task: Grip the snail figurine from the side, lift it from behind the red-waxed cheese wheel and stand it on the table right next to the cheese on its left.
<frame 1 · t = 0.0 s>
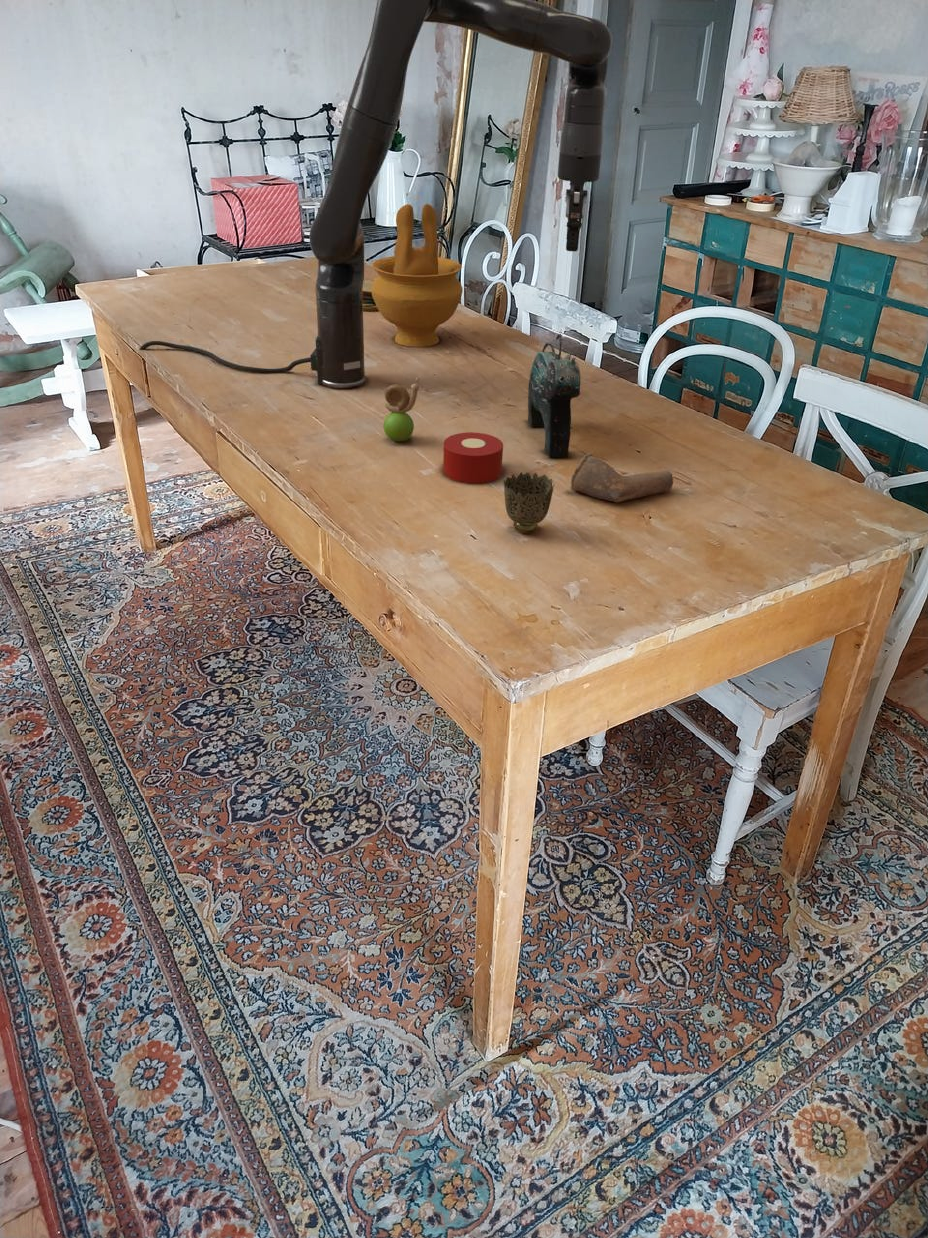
hand: (571, 245, 176), 29 cm above the table, tool pointing down, fingers open, 8 cm apart
pipe: (619, 492, 155), on the table
toy sandwich meal: (367, 305, 246), on the table
ceramic cat: (544, 441, 172), on the table
decorative bowl: (416, 340, 221), on the table
cheese: (472, 470, 160), on the table
cup: (525, 530, 142), on the table
snail figurine: (401, 441, 170), on the table
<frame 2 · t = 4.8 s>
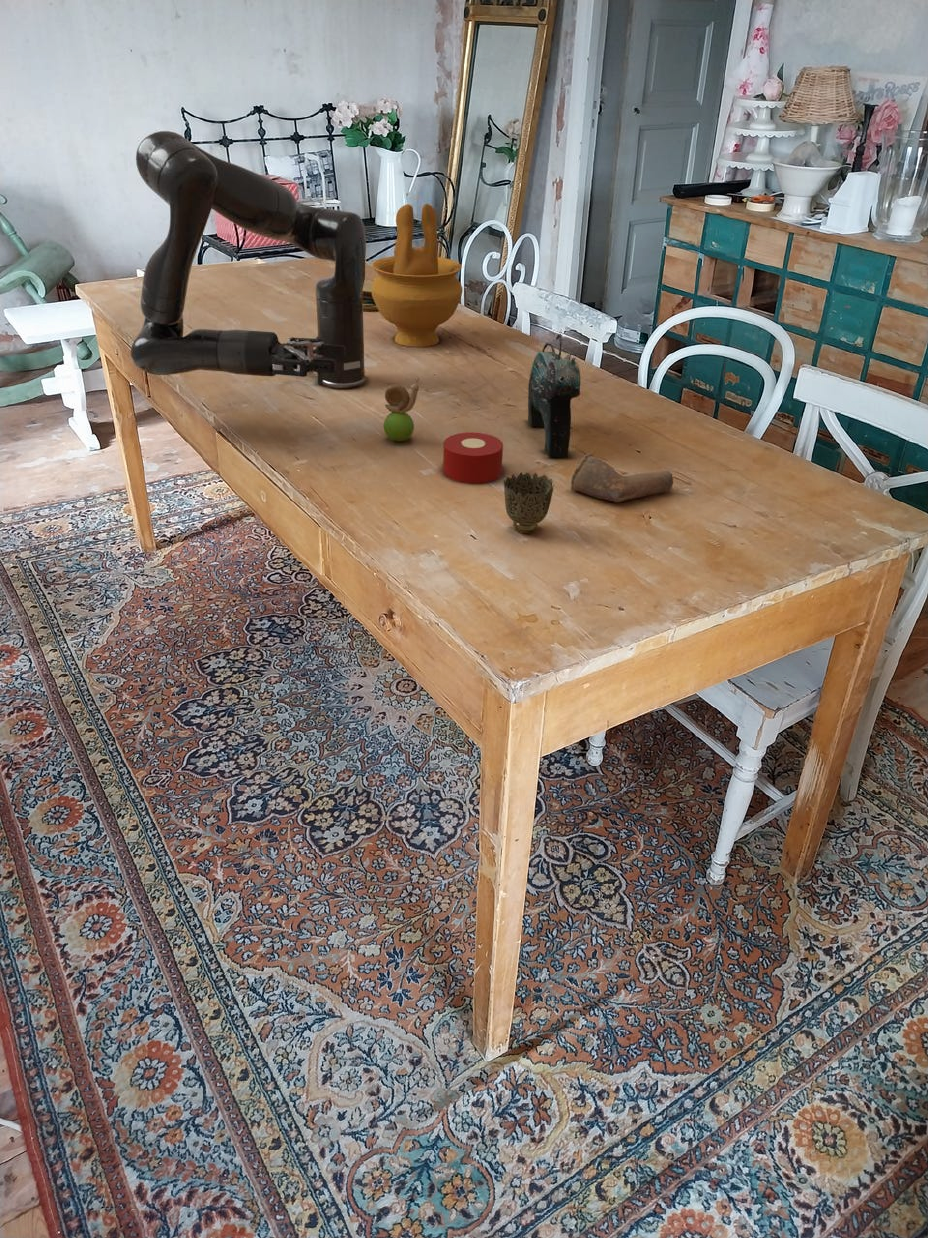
hand: (340, 358, 163), 14 cm above the table, tool horizontal, fingers open, 8 cm apart
nothing on the table moved.
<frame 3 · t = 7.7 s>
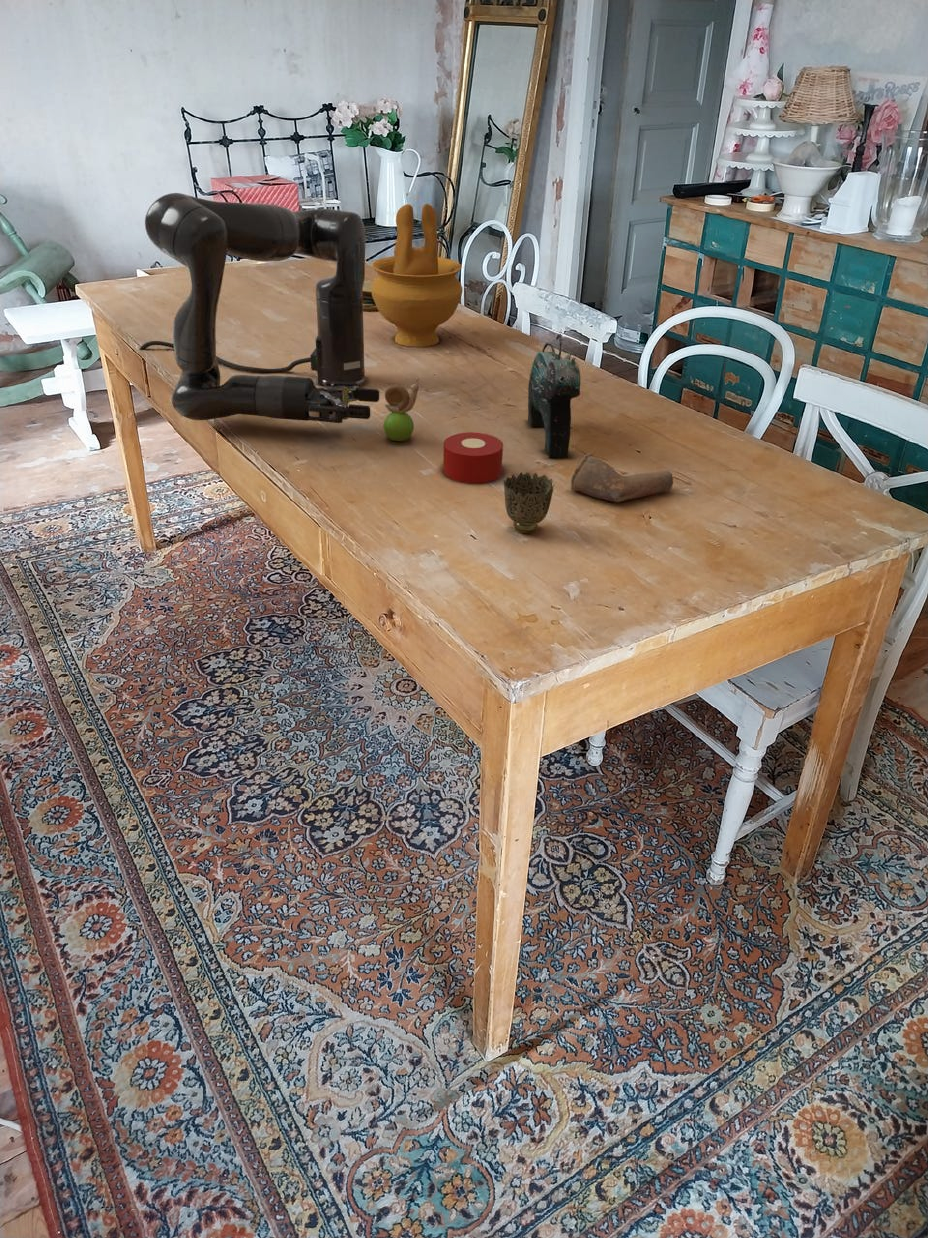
hand: (374, 403, 166), 7 cm above the table, tool horizontal, fingers open, 8 cm apart
nothing on the table moved.
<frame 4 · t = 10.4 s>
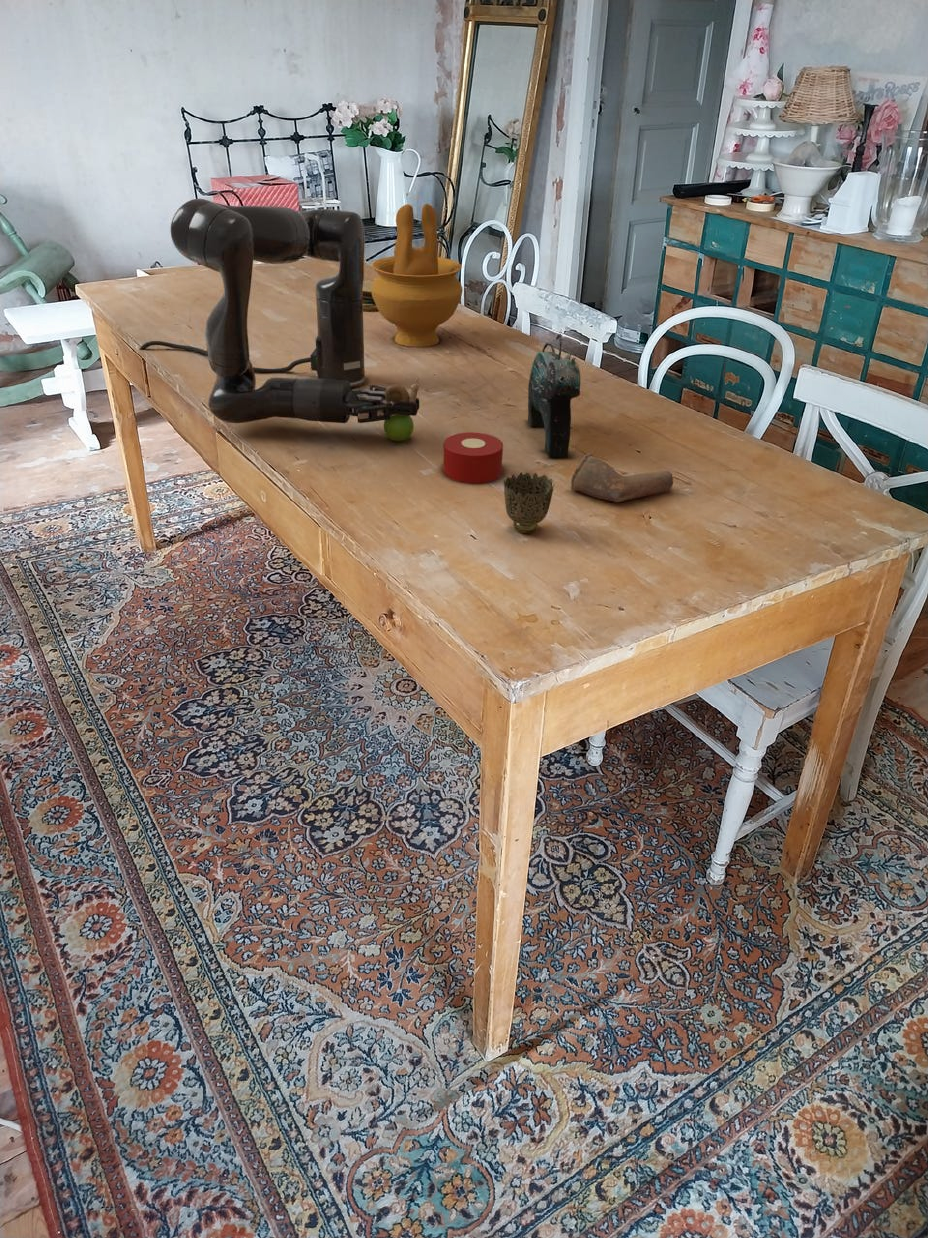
hand: (417, 406, 166), 7 cm above the table, tool horizontal, fingers closed on snail figurine
snail figurine: (401, 441, 170), on the table, touching gripper
everything else where it was.
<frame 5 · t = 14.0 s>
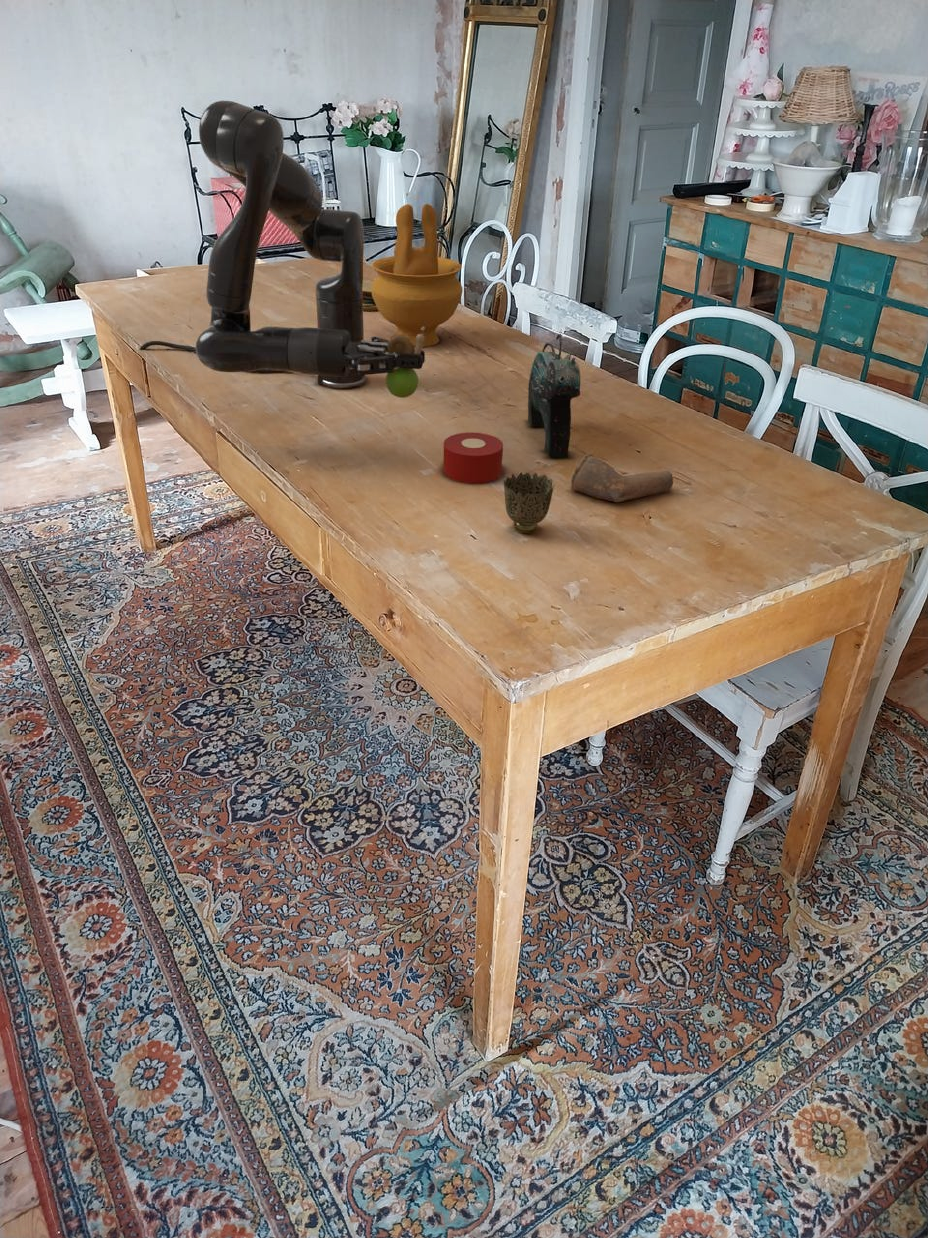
hand: (422, 359, 154), 18 cm above the table, tool horizontal, fingers closed on snail figurine
snail figurine: (404, 398, 157), point 11 cm above the table, touching gripper
everything else where it was.
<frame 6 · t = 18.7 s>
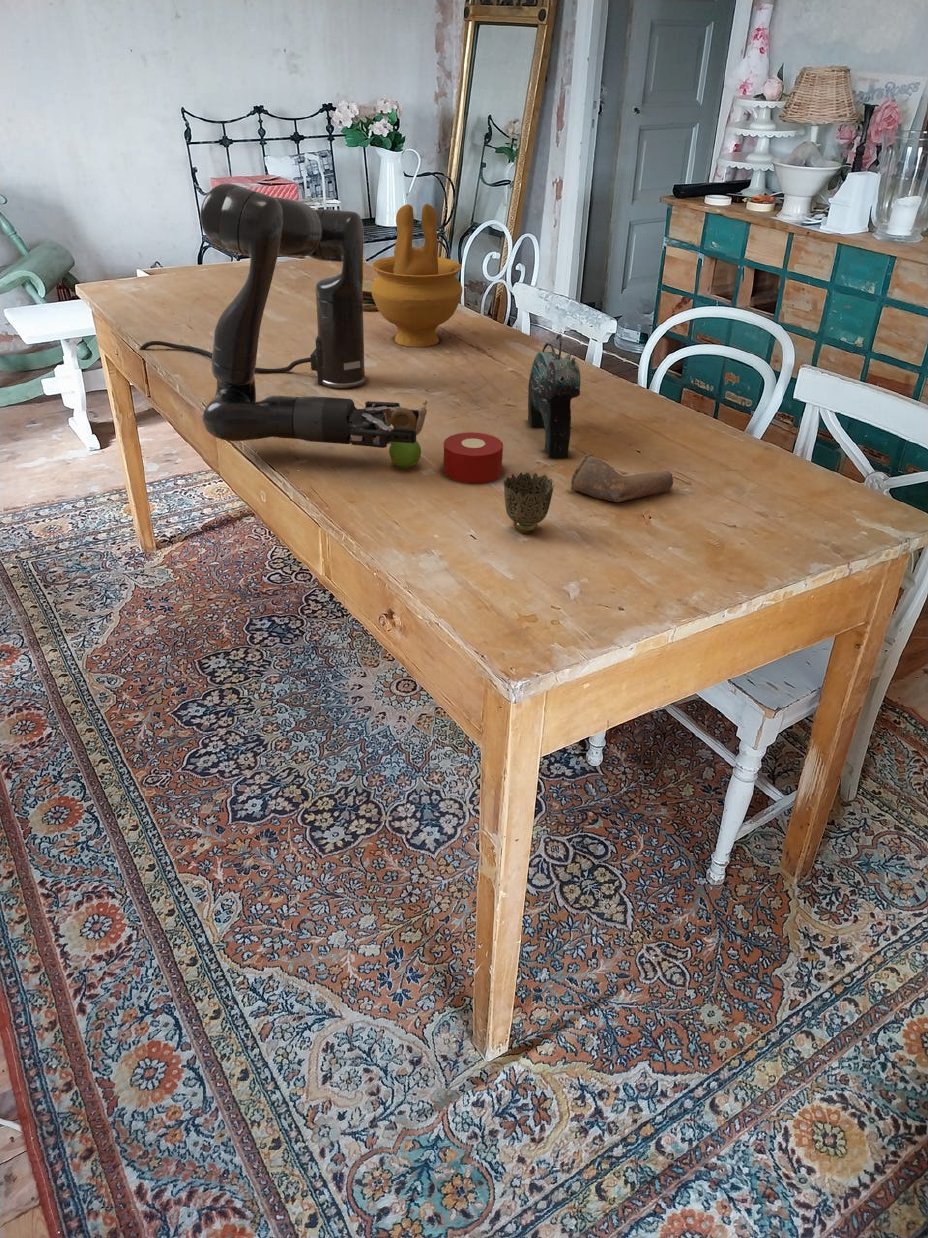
hand: (419, 426, 156), 7 cm above the table, tool horizontal, fingers open, 8 cm apart
snail figurine: (407, 467, 160), on the table
everything else where it was.
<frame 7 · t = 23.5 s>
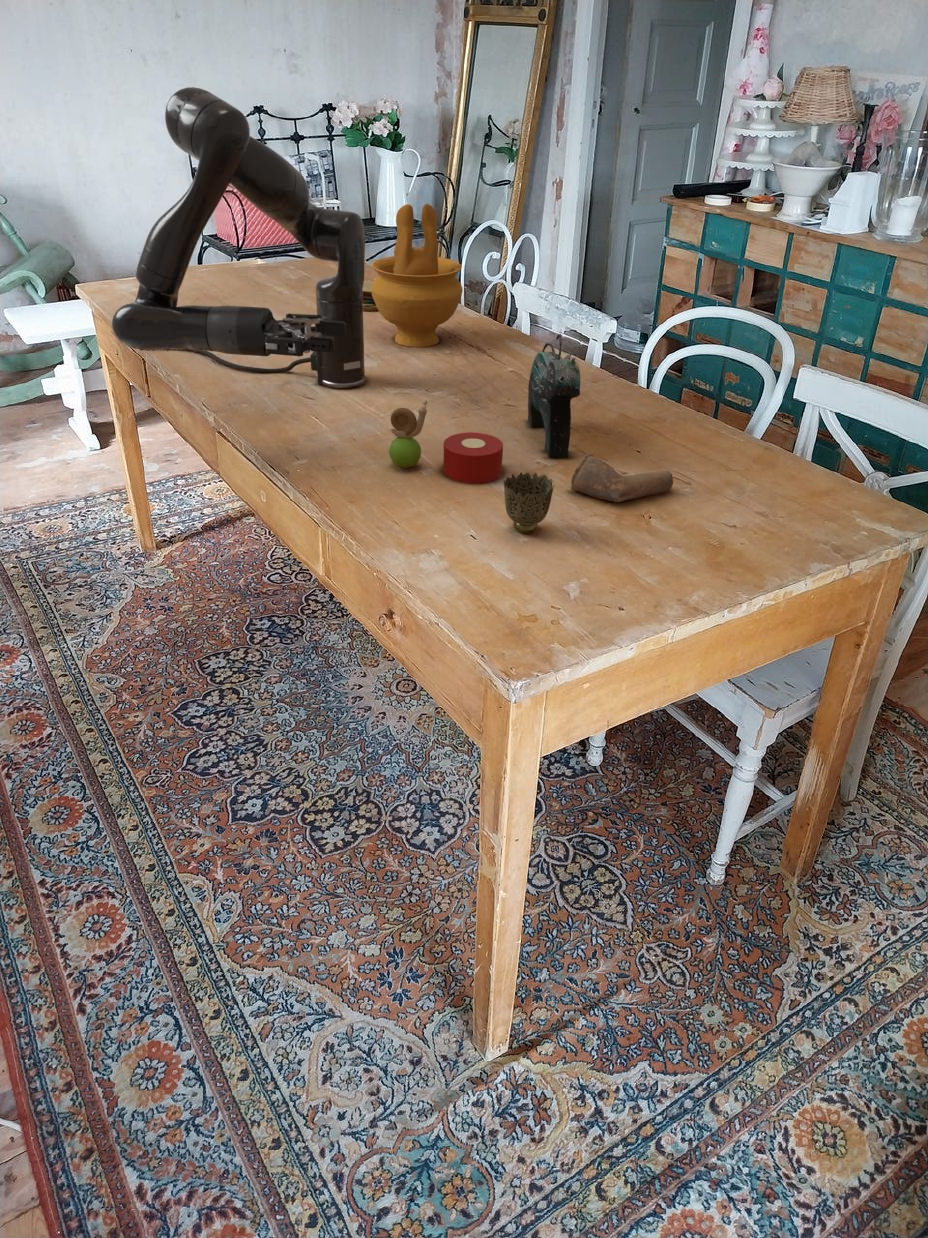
hand: (340, 336, 149), 22 cm above the table, tool horizontal, fingers open, 8 cm apart
nothing on the table moved.
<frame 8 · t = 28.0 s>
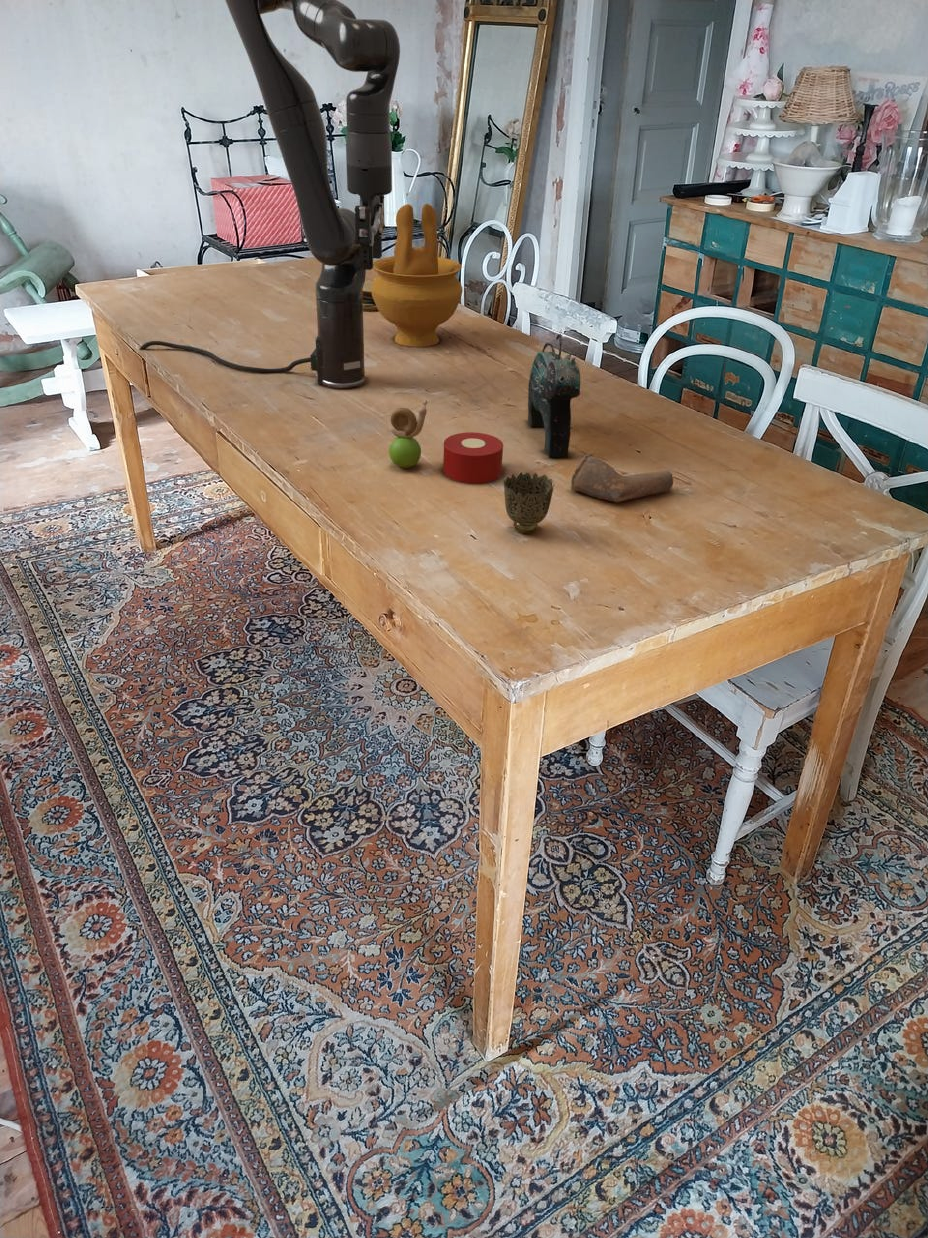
hand: (371, 263, 164), 28 cm above the table, tool pointing down, fingers open, 8 cm apart
nothing on the table moved.
at the end: snail figurine inside the target area on the table beside the cheese (0.2 cm from its centre), on the table; snail figurine tilted 0°; the gripper is holding nothing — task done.
